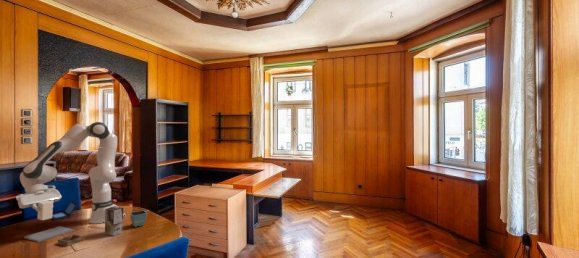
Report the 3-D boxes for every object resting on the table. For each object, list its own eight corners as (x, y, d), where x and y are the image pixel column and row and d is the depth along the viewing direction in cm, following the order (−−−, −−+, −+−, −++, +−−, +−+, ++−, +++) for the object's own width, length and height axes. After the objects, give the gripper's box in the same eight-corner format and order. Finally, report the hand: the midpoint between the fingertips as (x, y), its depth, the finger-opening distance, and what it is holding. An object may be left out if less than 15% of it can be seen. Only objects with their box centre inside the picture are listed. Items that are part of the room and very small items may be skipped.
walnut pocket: (73, 238, 157) (73, 234, 157) (82, 240, 154) (82, 236, 154) (57, 243, 149) (57, 239, 149) (66, 246, 146) (66, 242, 146)
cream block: (47, 216, 163) (48, 200, 163) (52, 217, 161) (52, 201, 162) (37, 219, 158) (38, 202, 159) (42, 220, 157) (43, 203, 157)
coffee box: (123, 232, 167) (123, 207, 167) (113, 236, 161) (113, 210, 161) (114, 229, 171) (115, 205, 171) (104, 233, 165) (104, 208, 165)
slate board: (59, 227, 173) (59, 226, 173) (73, 230, 168) (73, 229, 168) (24, 238, 156) (24, 236, 156) (38, 242, 151) (38, 240, 151)
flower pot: (129, 225, 179) (129, 212, 179) (143, 222, 185) (144, 210, 185) (132, 229, 173) (132, 215, 173) (146, 226, 179) (147, 213, 179)
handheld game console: (48, 216, 194) (49, 204, 194) (71, 212, 205) (71, 200, 205) (54, 221, 185) (54, 208, 184) (77, 216, 195) (77, 204, 195)
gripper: (16, 192, 153) (25, 210, 149) (57, 185, 172) (66, 201, 169) (12, 198, 154) (21, 217, 151) (53, 191, 174) (62, 207, 170)
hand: (45, 209), depth 160 cm, fingers closed on cream block, 5 cm apart
